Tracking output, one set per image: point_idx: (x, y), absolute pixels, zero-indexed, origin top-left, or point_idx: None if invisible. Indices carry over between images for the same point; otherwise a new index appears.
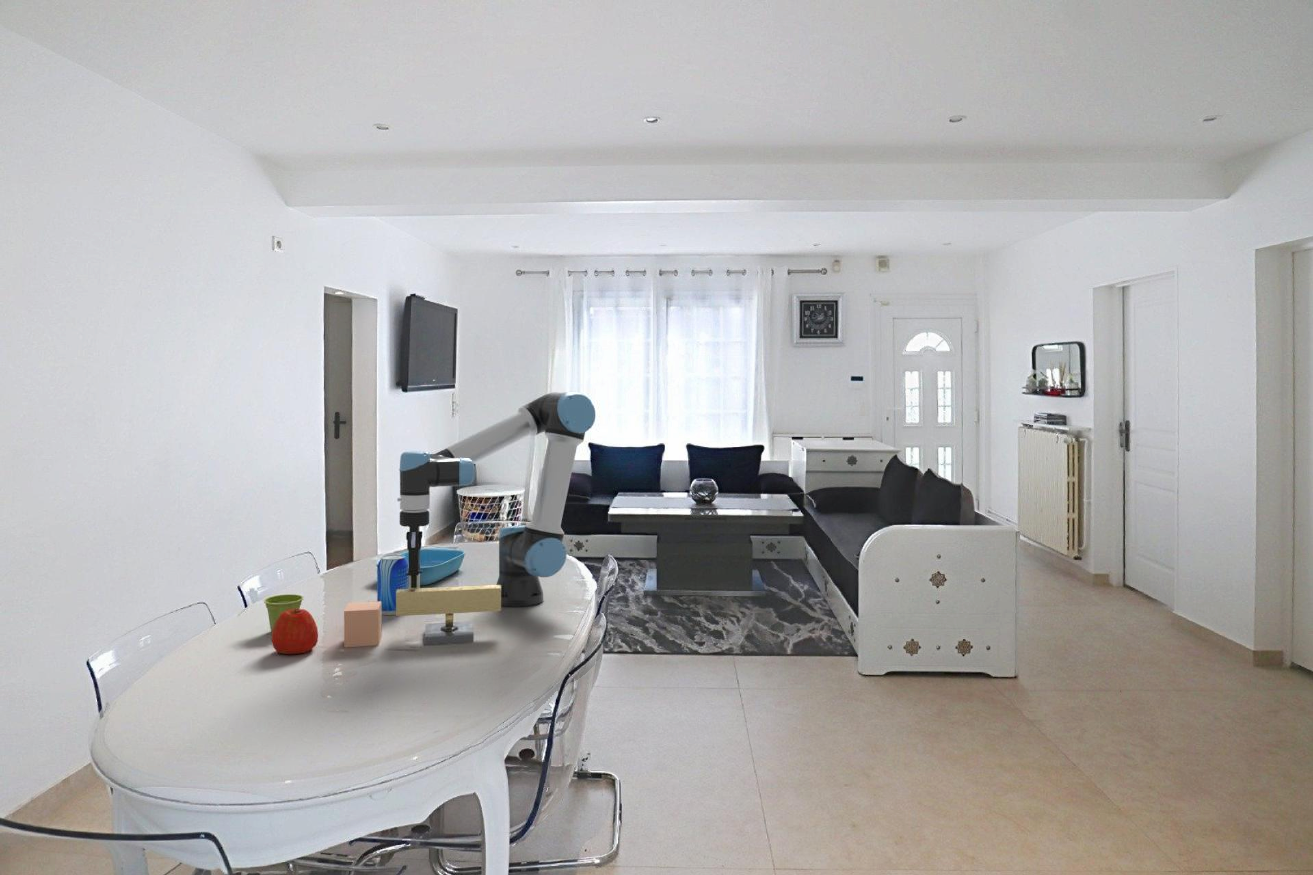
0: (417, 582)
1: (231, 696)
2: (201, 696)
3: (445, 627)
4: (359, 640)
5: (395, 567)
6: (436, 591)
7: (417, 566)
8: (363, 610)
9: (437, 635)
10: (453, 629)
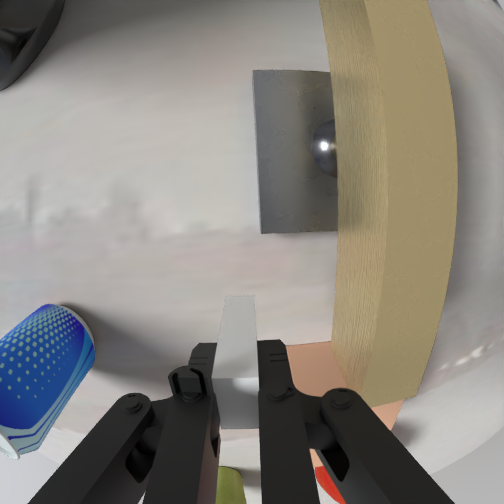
0: (258, 353)
1: (472, 420)
2: (456, 440)
3: (333, 161)
4: None
5: (22, 418)
6: (454, 213)
7: (390, 438)
8: (392, 424)
9: None
10: None
